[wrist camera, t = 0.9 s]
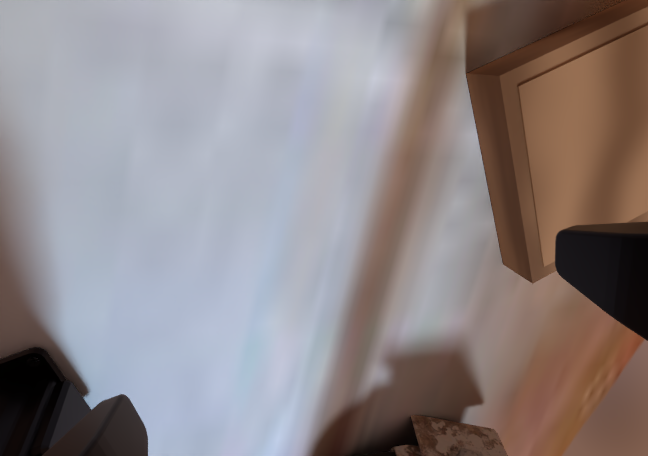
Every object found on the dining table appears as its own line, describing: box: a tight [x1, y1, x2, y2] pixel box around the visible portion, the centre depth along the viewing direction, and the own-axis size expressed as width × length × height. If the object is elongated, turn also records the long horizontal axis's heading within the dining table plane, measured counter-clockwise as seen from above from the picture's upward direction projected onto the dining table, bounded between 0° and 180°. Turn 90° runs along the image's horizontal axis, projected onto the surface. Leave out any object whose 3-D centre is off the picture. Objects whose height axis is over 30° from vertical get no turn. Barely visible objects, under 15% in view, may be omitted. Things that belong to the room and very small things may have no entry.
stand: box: [466, 0, 648, 283], centre depth 23 cm, size 12×12×3 cm
